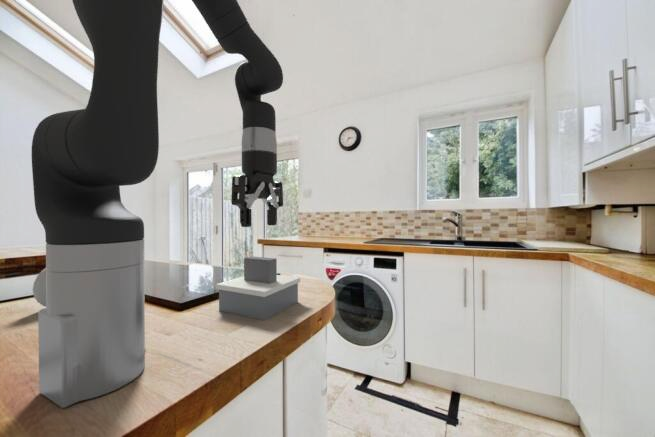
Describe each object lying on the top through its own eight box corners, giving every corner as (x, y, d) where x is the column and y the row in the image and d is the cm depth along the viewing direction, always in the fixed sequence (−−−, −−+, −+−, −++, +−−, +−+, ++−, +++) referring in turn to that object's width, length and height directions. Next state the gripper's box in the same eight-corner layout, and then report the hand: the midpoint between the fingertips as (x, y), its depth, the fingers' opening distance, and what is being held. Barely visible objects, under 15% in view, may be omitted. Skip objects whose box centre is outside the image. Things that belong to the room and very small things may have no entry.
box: (264, 322, 51) (264, 296, 51) (219, 312, 56) (219, 288, 56) (297, 303, 62) (297, 282, 62) (257, 296, 67) (257, 276, 67)
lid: (264, 300, 50) (264, 265, 50) (216, 291, 56) (216, 260, 56) (300, 284, 62) (300, 256, 62) (257, 278, 68) (257, 252, 67)
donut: (43, 314, 55) (43, 266, 55) (27, 314, 55) (27, 266, 55) (88, 299, 65) (88, 258, 65) (74, 299, 65) (74, 258, 65)
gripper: (250, 142, 50) (250, 228, 51) (291, 157, 63) (292, 225, 64) (221, 147, 54) (222, 227, 54) (266, 159, 67) (266, 224, 67)
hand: (259, 226), depth 59 cm, fingers open, 8 cm apart
